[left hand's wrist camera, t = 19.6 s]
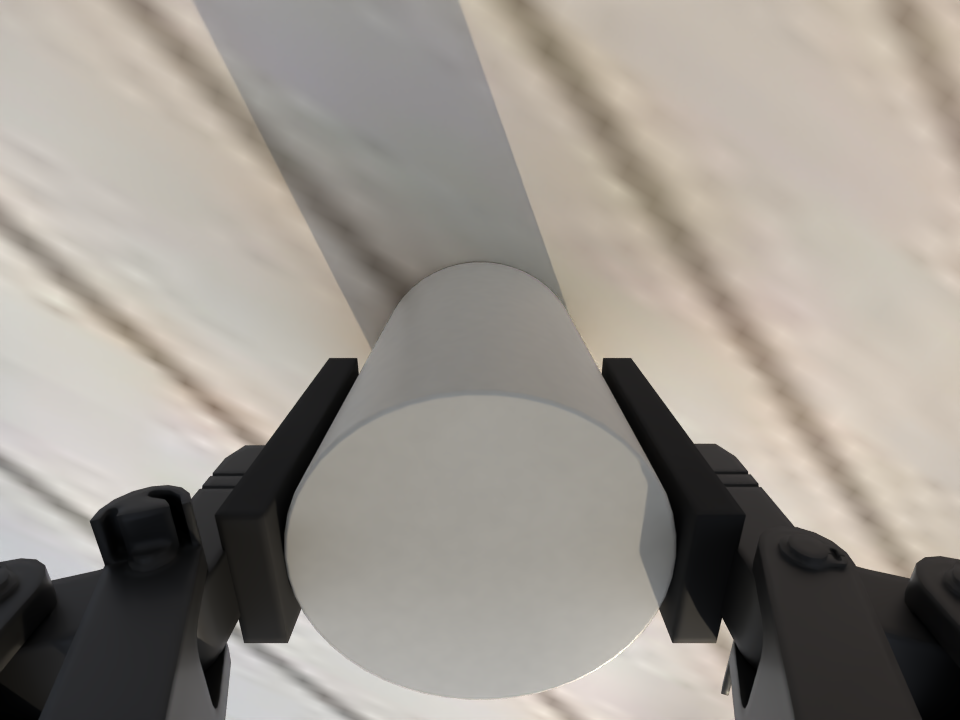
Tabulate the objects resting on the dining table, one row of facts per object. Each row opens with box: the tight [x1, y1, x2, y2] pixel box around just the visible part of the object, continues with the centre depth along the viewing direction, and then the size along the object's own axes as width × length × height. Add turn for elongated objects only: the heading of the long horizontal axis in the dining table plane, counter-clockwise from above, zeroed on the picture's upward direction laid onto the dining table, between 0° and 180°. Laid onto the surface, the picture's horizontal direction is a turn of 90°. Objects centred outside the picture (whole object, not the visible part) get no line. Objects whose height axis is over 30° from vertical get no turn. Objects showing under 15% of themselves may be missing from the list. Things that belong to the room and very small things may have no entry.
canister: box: [284, 262, 676, 700], centre depth 13 cm, size 7×7×10 cm
